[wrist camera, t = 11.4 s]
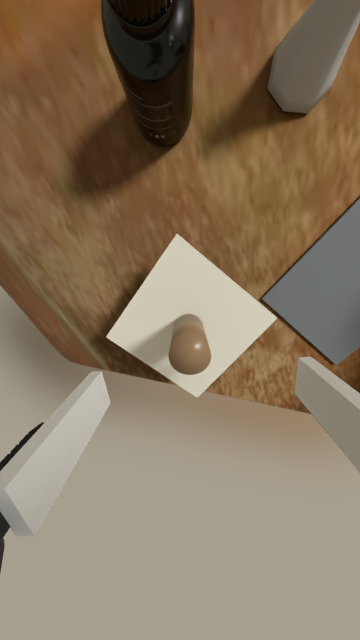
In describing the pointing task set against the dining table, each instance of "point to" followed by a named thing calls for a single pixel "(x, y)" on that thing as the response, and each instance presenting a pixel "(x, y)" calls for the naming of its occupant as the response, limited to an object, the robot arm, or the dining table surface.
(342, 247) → the mat
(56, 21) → the dining table surface
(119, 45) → the supplement bottle
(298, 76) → the flask
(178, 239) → the board
